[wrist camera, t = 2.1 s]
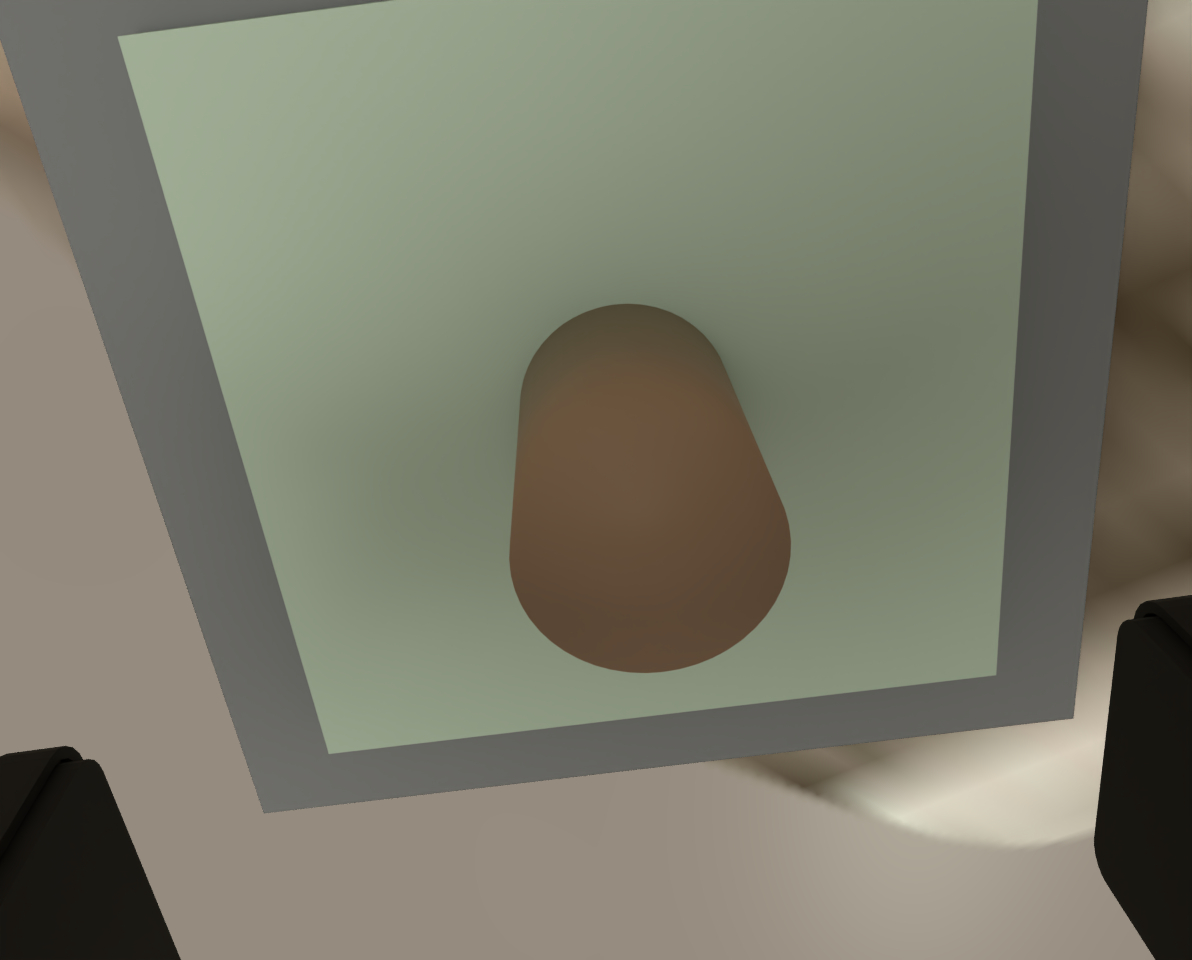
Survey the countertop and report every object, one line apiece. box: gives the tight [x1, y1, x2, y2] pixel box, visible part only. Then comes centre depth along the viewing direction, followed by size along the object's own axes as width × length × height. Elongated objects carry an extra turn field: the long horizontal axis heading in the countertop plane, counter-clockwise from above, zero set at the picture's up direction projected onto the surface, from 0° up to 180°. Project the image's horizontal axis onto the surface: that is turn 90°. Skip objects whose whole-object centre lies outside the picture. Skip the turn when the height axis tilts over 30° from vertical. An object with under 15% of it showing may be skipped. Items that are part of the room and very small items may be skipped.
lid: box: [117, 0, 1038, 754], centre depth 16 cm, size 13×13×6 cm
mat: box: [0, 0, 1148, 813], centre depth 19 cm, size 17×17×1 cm
